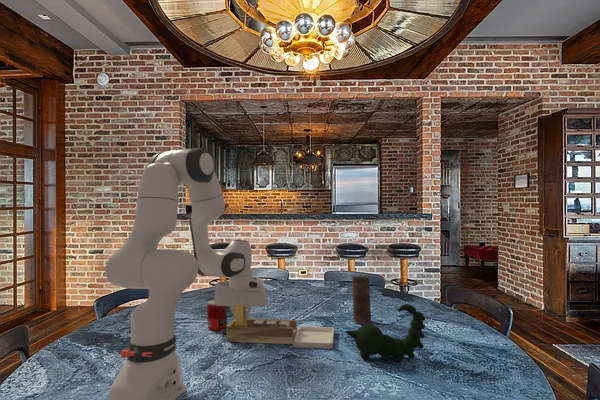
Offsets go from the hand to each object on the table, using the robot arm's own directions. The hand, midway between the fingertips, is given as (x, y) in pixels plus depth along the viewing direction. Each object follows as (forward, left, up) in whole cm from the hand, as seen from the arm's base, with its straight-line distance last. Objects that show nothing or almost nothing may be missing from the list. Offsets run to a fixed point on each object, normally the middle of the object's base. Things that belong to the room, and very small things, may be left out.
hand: (240, 317), depth 136 cm
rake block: (0, 0, -5) cm, 5 cm away
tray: (0, -29, -8) cm, 29 cm away
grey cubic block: (0, -7, -5) cm, 9 cm away
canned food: (+9, +13, -8) cm, 18 cm away
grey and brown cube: (0, -17, -5) cm, 18 cm away
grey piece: (0, -12, -5) cm, 13 cm away
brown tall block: (+21, -47, -8) cm, 52 cm away
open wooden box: (0, -9, -8) cm, 11 cm away
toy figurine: (-14, -53, -8) cm, 55 cm away
